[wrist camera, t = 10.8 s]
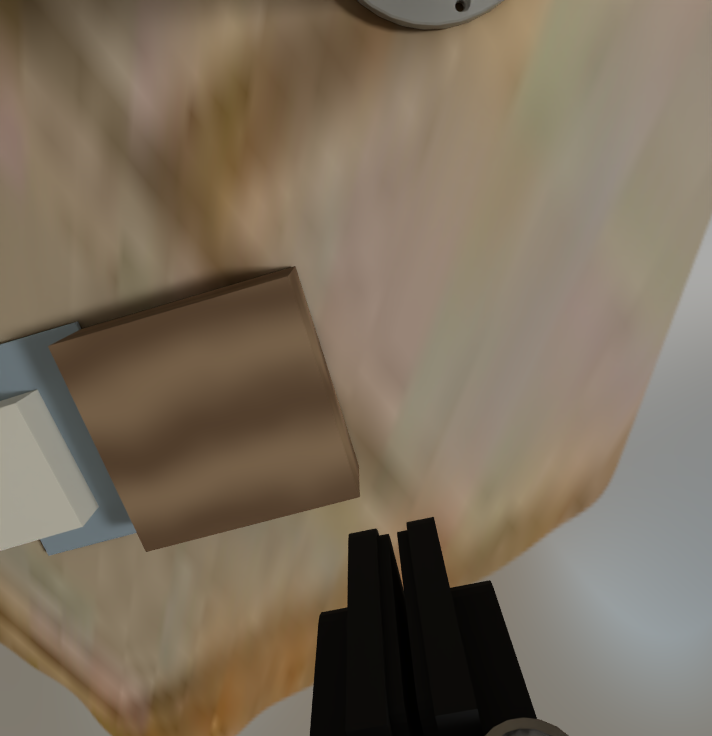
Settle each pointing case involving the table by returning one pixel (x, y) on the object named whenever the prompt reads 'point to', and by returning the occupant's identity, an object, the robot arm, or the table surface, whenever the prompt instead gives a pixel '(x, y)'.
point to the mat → (64, 434)
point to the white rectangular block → (37, 475)
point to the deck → (213, 410)
